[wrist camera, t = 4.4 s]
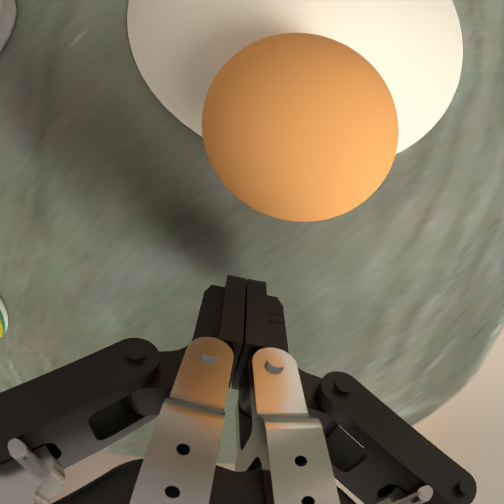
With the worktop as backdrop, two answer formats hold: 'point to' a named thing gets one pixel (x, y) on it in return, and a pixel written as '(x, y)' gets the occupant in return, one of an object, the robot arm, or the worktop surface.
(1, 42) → the rook chess piece
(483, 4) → the worktop surface
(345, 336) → the worktop surface
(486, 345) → the worktop surface
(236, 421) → the robot arm
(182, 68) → the disc
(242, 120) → the egg
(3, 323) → the supplement bottle
